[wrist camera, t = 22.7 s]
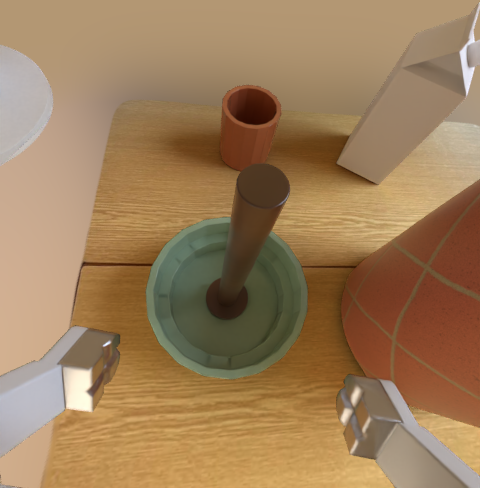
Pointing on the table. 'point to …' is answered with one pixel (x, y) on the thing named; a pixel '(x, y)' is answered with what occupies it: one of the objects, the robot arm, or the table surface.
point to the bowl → (216, 330)
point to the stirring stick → (247, 235)
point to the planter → (423, 311)
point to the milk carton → (414, 98)
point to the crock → (248, 125)
